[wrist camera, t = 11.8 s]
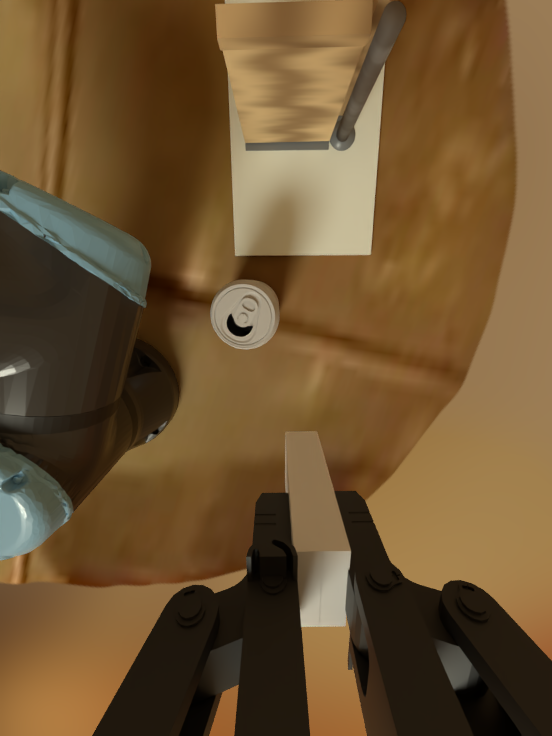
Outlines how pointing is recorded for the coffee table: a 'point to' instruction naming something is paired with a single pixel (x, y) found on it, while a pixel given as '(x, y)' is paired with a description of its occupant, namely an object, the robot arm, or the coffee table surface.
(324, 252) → the mat
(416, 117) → the coffee table surface
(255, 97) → the fence panel
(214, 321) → the beverage can
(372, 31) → the panel
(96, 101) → the coffee table surface
